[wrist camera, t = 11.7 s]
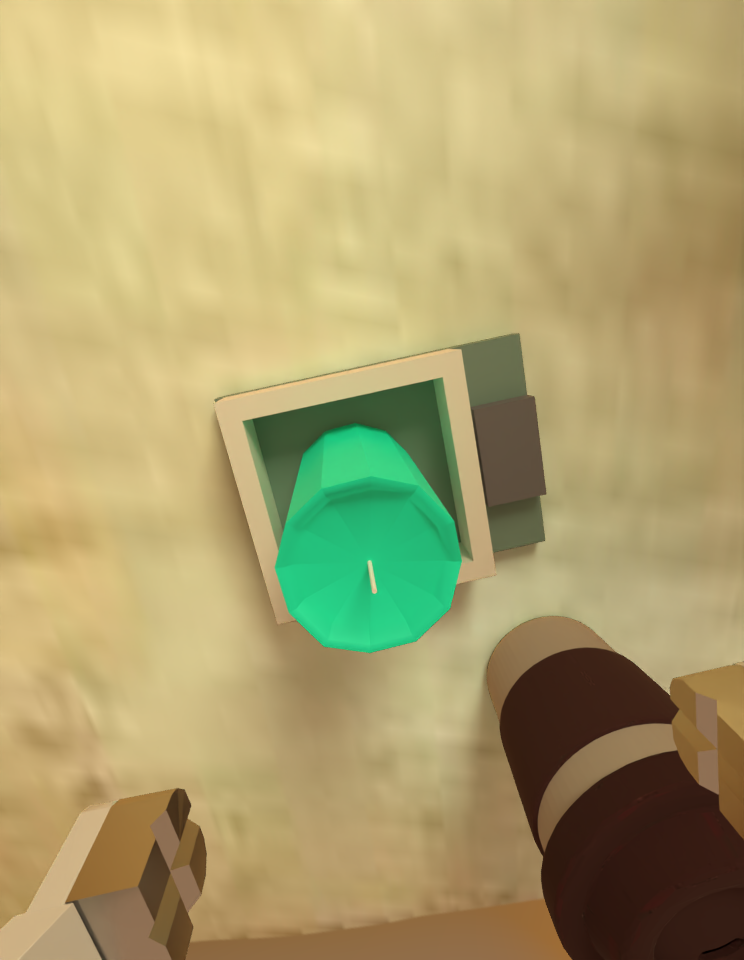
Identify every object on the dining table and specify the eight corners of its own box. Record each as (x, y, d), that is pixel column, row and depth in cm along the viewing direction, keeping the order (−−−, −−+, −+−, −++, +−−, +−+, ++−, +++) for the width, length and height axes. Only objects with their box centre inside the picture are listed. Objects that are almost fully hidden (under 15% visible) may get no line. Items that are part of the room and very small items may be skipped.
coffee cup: (481, 582, 29) (626, 814, 15) (643, 601, 31) (922, 834, 16) (448, 729, 32) (544, 1050, 17) (598, 741, 33) (807, 1053, 18)
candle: (376, 556, 27) (409, 711, 16) (275, 503, 26) (230, 631, 15) (436, 459, 26) (517, 551, 15) (332, 400, 25) (333, 450, 14)
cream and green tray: (512, 333, 26) (539, 332, 23) (538, 534, 29) (565, 559, 26) (218, 397, 26) (201, 406, 22) (275, 593, 29) (267, 626, 25)
